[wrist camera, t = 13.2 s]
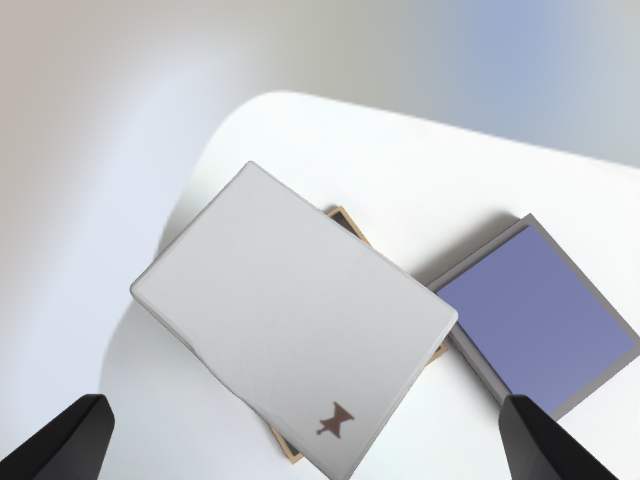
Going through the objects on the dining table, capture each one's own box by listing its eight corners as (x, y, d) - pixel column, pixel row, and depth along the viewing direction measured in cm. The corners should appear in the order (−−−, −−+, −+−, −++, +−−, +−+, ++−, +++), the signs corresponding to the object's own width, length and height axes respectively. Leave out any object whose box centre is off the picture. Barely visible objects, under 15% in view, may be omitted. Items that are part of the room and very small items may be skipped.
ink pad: (523, 435, 19) (535, 441, 18) (416, 293, 21) (421, 290, 19) (633, 347, 20) (652, 347, 18) (521, 218, 21) (532, 211, 20)
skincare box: (394, 338, 20) (473, 317, 8) (339, 412, 19) (342, 504, 7) (298, 262, 21) (248, 150, 9) (243, 328, 20) (115, 294, 9)
